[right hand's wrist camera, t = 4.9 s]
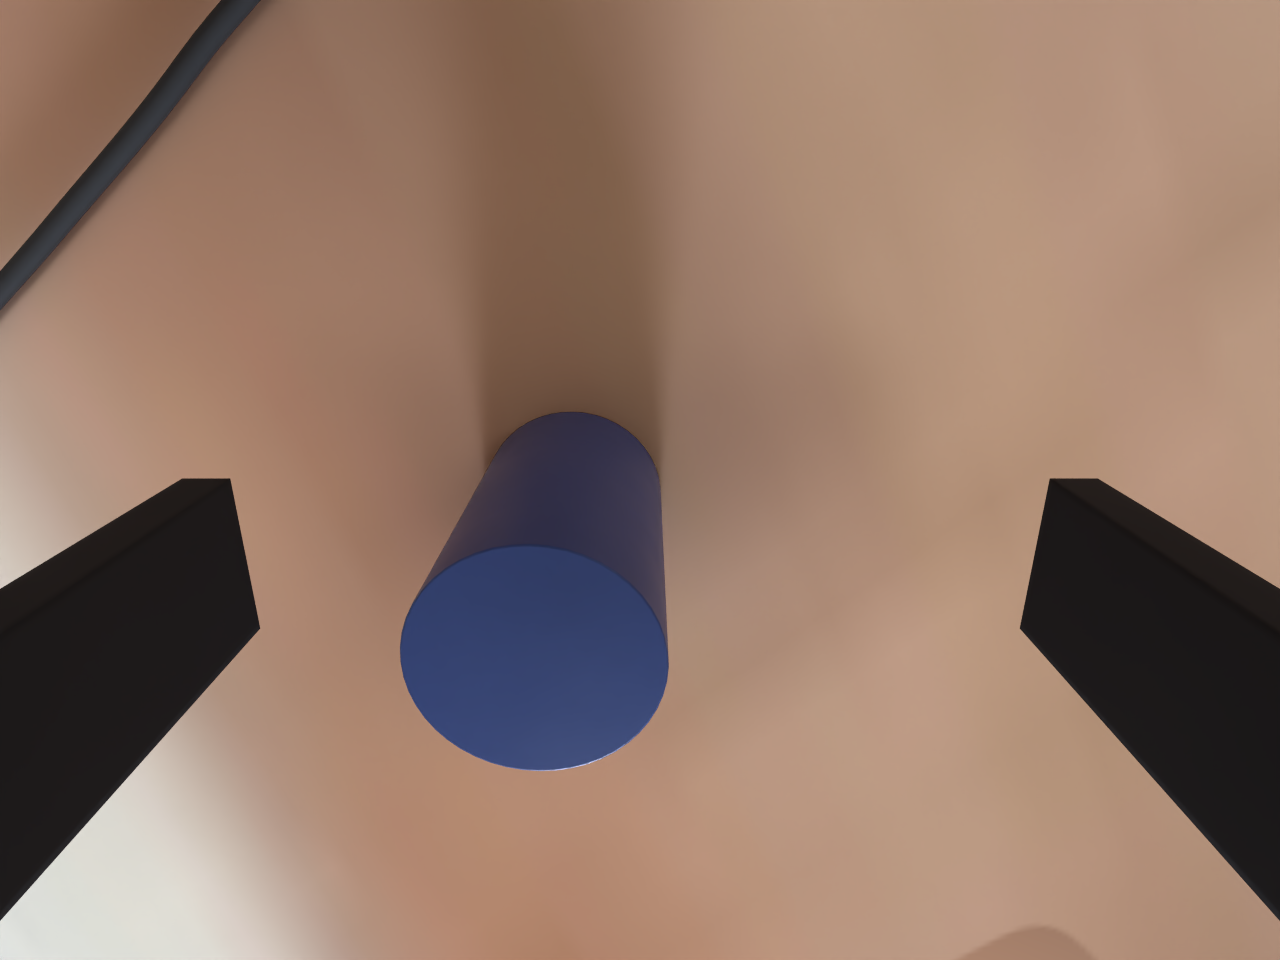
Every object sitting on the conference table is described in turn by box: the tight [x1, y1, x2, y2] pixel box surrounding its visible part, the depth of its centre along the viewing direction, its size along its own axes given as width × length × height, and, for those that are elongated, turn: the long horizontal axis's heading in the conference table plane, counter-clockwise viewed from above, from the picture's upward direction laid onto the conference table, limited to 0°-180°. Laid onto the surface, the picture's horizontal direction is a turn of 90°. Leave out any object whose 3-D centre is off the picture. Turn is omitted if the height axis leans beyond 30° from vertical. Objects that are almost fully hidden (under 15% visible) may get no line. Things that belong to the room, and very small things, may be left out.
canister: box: [400, 412, 669, 771], centre depth 25 cm, size 7×7×12 cm
